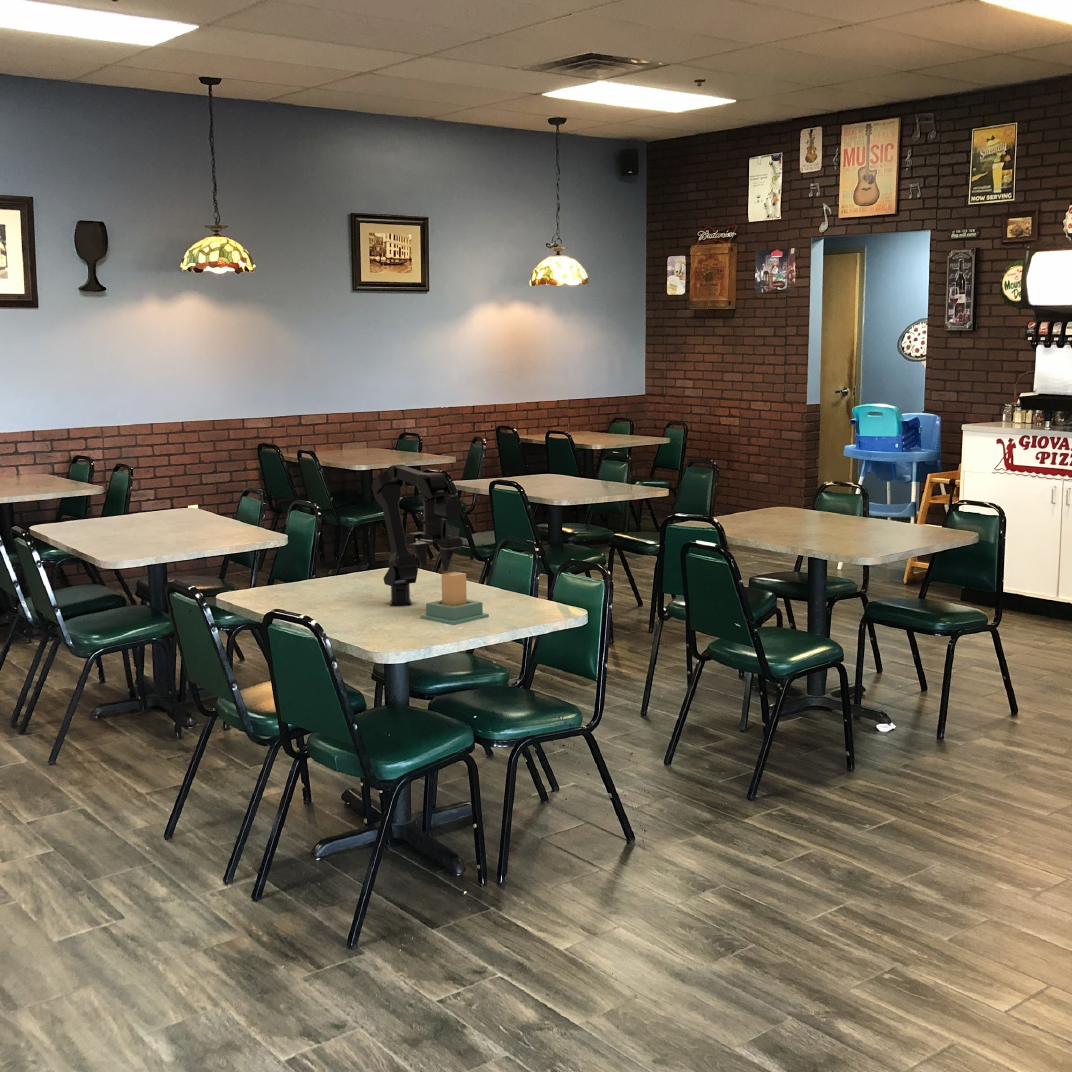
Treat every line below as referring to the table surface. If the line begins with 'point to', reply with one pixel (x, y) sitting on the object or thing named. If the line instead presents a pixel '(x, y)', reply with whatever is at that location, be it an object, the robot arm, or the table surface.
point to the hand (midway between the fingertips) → (434, 569)
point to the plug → (454, 589)
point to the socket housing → (454, 612)
